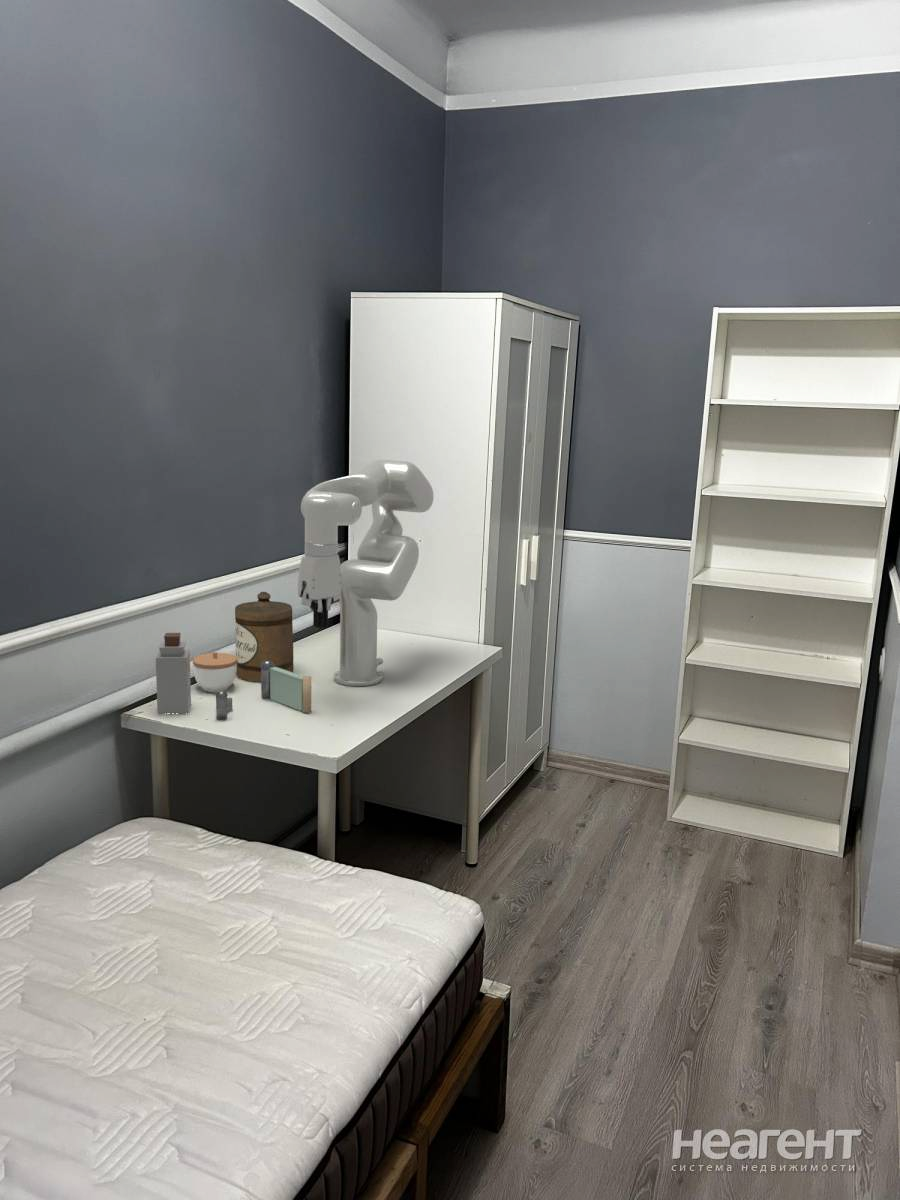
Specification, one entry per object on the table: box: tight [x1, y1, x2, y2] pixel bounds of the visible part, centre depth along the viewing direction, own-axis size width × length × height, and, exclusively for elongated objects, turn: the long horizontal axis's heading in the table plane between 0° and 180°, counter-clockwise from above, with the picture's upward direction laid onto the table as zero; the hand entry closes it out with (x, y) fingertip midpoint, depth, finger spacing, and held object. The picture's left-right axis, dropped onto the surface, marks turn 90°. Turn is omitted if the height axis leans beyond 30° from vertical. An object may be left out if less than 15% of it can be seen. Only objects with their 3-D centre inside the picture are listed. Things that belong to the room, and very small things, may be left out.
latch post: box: [215, 690, 233, 721], centre depth 213 cm, size 7×4×7 cm, turn 154°
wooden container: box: [234, 591, 294, 683], centre depth 243 cm, size 15×15×22 cm
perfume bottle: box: [155, 632, 192, 715], centre depth 215 cm, size 7×7×18 cm
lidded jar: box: [192, 651, 237, 693], centre depth 232 cm, size 11×11×9 cm
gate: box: [270, 667, 312, 714], centre depth 221 cm, size 14×2×8 cm, turn 49°
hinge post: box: [260, 660, 274, 701], centre depth 226 cm, size 3×3×10 cm
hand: (320, 626), depth 220 cm, fingers closed
